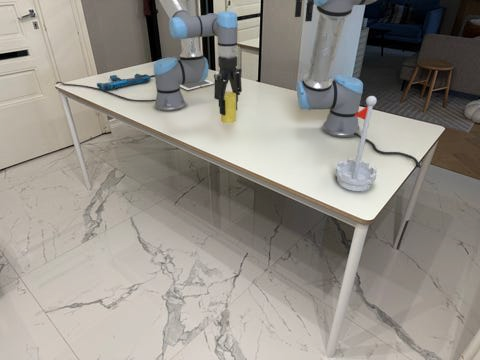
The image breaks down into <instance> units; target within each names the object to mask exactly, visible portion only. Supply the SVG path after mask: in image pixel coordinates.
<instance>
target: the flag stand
mask: <svg viewBox="0 0 480 360" xmlns="http://www.w3.org/2000/svg"><path fill="white" fill-rule="evenodd" d="M365 103H366V106H365V107H364V108H362V109H361V110H359V111H358V113H357V114H355V116H357V117H358V119H359V118H360V119H362V120H363V123H362V124H363V125H362V130H361V134H360V135H361V138H360V139H359V143H358V147H357V154H356V158H347V161H344V160H339V161H338V162H337V164H336V166H335V171H334V173H335V176H336V182H337V184H338V185H339V186H340V187H341V188H343V189H346V190H349V191H353V192H364V191H366V190H368V189H370V187H371V185H372V184H373V183H374V182H375V181H376V179H377V173H378V169H377V168H376V166H370V165H371V163H370V162H369V161H366V160H362V157H363V152H364V147H365V143H366V141H365V139H367V134H368V131H369V126H370V121H371V116H372V111H373V108H374V106H375V105H376V104H377V97H376V96H375V95H369V96H368V97H366V99H365Z"/></svg>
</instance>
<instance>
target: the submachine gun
mask: <svg viewBox="0 0 480 360" xmlns="http://www.w3.org/2000/svg"><path fill="white" fill-rule="evenodd" d="M152 78H155V74H152V75H149V74H146V73H145V74H140V73H135V74H134V77H130V78H121V77H118V75H116V74H114V75H109V79H110V80H111V81H110V82H103V83H102V82H96V88H98V89H102V90H105V91H107V90H112V89H113V90H117V88H120V87H121V88H122V87H126V86H130V85H135V84H140V83H145V82H146V83H147V82H149V81H150V80H151V79H152Z"/></svg>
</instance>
